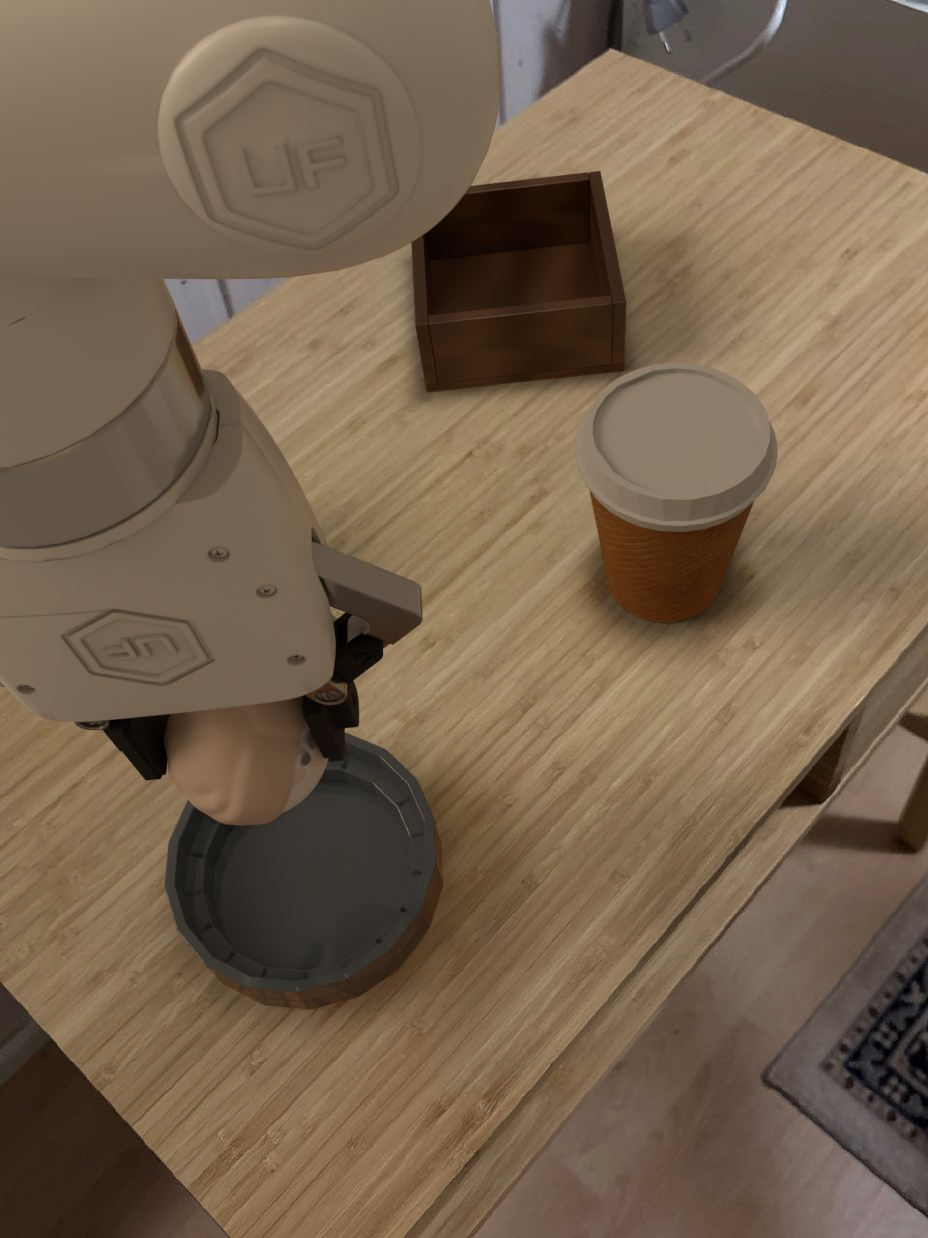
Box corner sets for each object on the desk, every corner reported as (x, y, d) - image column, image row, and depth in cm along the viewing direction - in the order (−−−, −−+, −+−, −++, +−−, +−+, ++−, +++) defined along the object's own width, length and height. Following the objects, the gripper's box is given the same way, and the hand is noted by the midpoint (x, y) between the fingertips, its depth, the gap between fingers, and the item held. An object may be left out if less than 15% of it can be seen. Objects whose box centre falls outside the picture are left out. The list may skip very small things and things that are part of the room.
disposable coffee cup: (678, 680, 60) (695, 543, 50) (542, 584, 64) (532, 439, 54) (786, 567, 63) (823, 416, 53) (650, 482, 67) (660, 327, 57)
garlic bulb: (381, 764, 45) (340, 662, 39) (258, 879, 43) (191, 791, 37) (277, 668, 48) (222, 557, 42) (157, 771, 46) (78, 672, 40)
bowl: (437, 749, 59) (429, 717, 56) (450, 1001, 52) (441, 980, 49) (197, 771, 60) (177, 741, 57) (177, 1024, 53) (153, 1004, 50)
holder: (600, 240, 79) (600, 169, 75) (624, 370, 72) (626, 302, 68) (419, 260, 80) (408, 192, 75) (426, 392, 73) (415, 325, 68)
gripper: (-329, 567, 27) (11, 851, 42) (401, 481, 26) (481, 804, 41) (-240, 341, 31) (41, 674, 46) (393, 259, 30) (469, 627, 45)
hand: (247, 733), depth 43 cm, fingers closed on garlic bulb, 6 cm apart
